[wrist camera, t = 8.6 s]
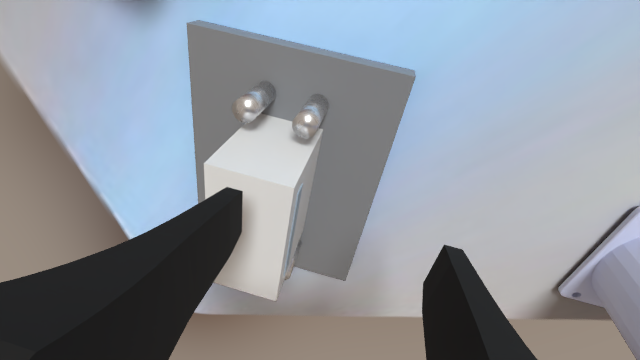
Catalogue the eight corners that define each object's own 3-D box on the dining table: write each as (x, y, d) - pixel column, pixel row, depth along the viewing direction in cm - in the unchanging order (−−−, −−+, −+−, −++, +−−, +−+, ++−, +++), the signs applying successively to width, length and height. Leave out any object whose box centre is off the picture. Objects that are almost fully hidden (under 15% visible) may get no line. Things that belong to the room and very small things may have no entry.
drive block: (324, 129, 18) (295, 188, 13) (303, 230, 23) (276, 301, 18) (255, 112, 18) (202, 163, 13) (249, 214, 23) (208, 280, 18)
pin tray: (414, 70, 16) (418, 96, 13) (347, 269, 26) (339, 315, 22) (198, 20, 17) (148, 31, 14) (208, 229, 26) (179, 267, 23)
